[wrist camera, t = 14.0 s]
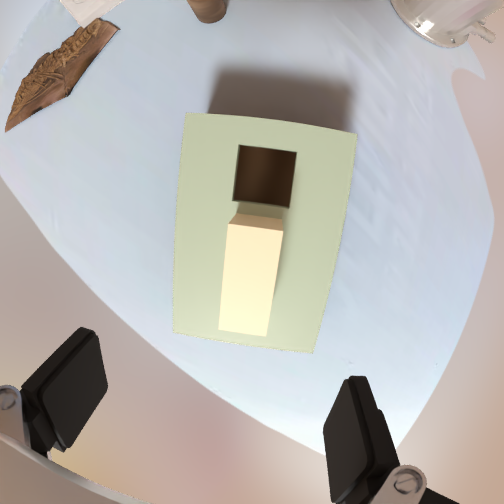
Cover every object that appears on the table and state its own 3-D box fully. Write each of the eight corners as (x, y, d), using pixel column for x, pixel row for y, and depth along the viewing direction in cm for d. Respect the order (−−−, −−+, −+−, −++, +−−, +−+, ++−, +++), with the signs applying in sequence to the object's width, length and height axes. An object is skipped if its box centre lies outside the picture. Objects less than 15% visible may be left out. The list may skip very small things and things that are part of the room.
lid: (353, 135, 23) (374, 129, 18) (311, 346, 30) (317, 381, 25) (189, 114, 24) (168, 103, 19) (176, 326, 31) (159, 357, 25)
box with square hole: (339, 140, 29) (353, 135, 23) (307, 319, 36) (311, 346, 30) (204, 122, 30) (189, 114, 24) (190, 302, 36) (176, 326, 31)
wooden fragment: (113, 4, 25) (109, 2, 24) (129, 56, 28) (125, 53, 27) (2, 100, 30) (-2, 100, 29) (11, 151, 32) (6, 152, 31)
